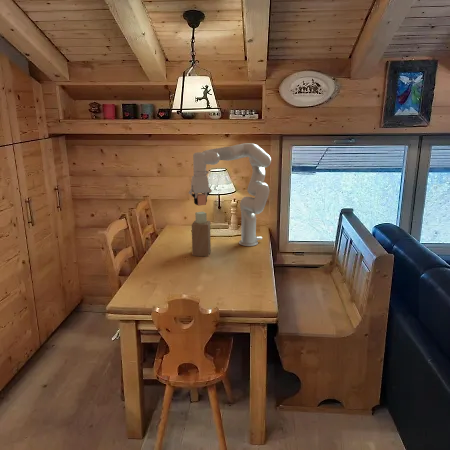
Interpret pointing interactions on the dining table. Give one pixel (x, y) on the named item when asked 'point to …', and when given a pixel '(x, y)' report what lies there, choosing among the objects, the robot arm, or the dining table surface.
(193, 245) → the wooden block
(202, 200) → the brick terracotta
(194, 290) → the dining table surface
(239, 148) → the robot arm
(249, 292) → the dining table surface
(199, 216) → the brick sage
